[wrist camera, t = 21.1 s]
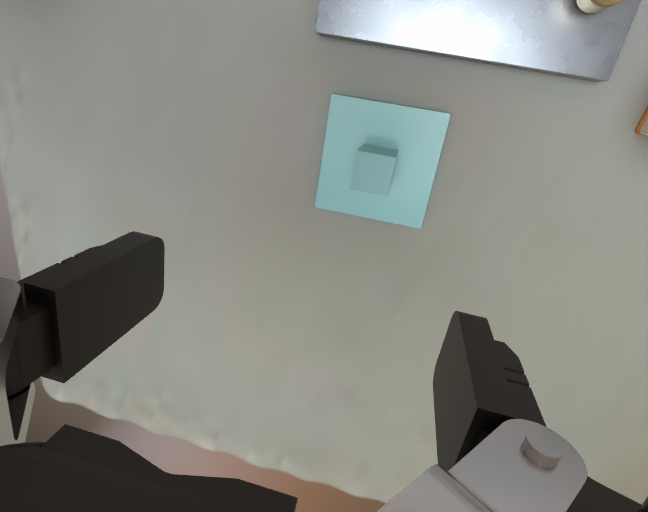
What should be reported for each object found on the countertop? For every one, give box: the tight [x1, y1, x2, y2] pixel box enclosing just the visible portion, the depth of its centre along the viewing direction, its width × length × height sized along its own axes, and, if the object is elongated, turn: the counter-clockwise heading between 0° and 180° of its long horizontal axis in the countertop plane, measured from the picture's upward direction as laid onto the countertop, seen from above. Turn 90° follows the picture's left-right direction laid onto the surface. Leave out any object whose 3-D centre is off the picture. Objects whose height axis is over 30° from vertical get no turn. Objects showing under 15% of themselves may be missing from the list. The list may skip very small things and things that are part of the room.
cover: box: [315, 94, 451, 229], centre depth 34 cm, size 10×10×6 cm
